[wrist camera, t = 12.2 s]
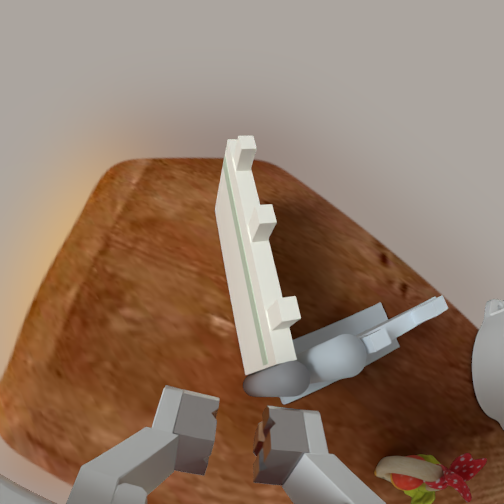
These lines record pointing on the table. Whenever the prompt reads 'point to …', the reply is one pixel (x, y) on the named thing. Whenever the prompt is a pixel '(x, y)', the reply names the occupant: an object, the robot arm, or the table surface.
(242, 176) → the fence panel
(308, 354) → the grey toy wall
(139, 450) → the robot arm
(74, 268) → the table surface
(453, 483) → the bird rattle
